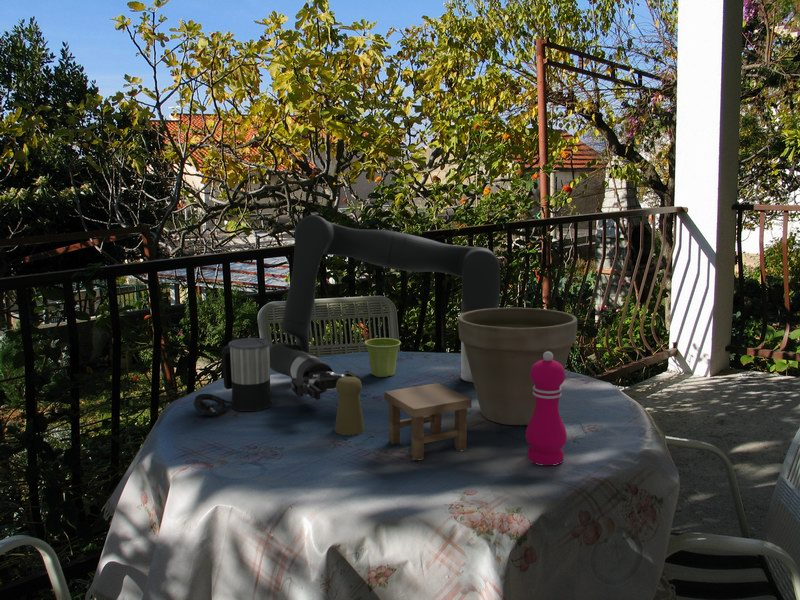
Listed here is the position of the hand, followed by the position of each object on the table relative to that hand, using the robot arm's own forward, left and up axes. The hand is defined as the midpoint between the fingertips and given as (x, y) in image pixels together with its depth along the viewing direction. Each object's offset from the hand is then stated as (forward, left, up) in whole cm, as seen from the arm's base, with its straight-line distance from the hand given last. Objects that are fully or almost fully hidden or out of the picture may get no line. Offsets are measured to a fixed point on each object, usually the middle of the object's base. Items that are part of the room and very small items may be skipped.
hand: (338, 392), depth 145 cm
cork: (-1, +6, -7) cm, 9 cm away
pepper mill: (-31, +32, -7) cm, 45 cm away
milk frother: (+20, -16, -7) cm, 27 cm away
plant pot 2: (-37, +8, -7) cm, 38 cm away
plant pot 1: (-19, -32, -7) cm, 38 cm away
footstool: (-13, +19, -7) cm, 24 cm away
